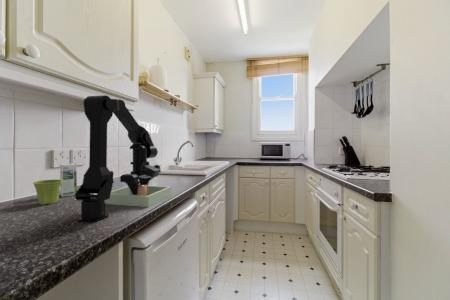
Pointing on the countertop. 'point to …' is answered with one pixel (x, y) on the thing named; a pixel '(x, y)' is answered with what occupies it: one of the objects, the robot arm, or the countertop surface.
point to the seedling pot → (142, 189)
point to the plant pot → (47, 191)
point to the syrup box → (68, 179)
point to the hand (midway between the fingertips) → (139, 195)
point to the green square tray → (139, 196)
